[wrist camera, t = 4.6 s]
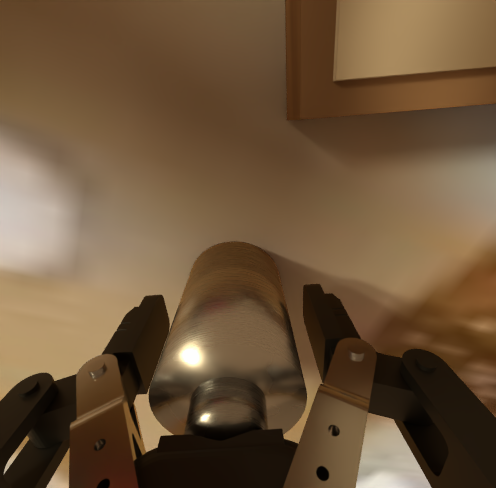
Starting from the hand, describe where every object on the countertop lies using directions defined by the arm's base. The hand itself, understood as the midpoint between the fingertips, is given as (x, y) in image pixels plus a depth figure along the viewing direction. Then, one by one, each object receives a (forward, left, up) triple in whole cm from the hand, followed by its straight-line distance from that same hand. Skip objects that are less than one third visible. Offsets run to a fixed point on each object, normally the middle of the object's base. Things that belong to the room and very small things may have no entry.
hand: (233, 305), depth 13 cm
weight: (0, 0, -2) cm, 2 cm away
